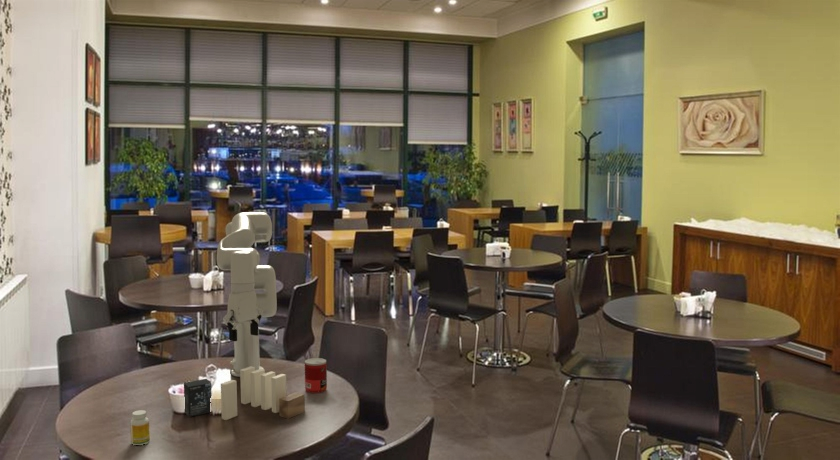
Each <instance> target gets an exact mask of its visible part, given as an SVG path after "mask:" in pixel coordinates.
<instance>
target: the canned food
mask: <svg viewBox="0 0 840 460" xmlns="http://www.w3.org/2000/svg"><path fill="white" fill-rule="evenodd" d="M327 367H328V365H327V359H324V358H321V357H313V358H312V357H311V358H307V359H305V360H304V388H305V391H306V392H308V393H311V394H319V393H320V394H321V393H323V392H326V390H327V387H328V384H327V383H328V379H327V378H328V375H327V374H328V373H327Z"/></svg>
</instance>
